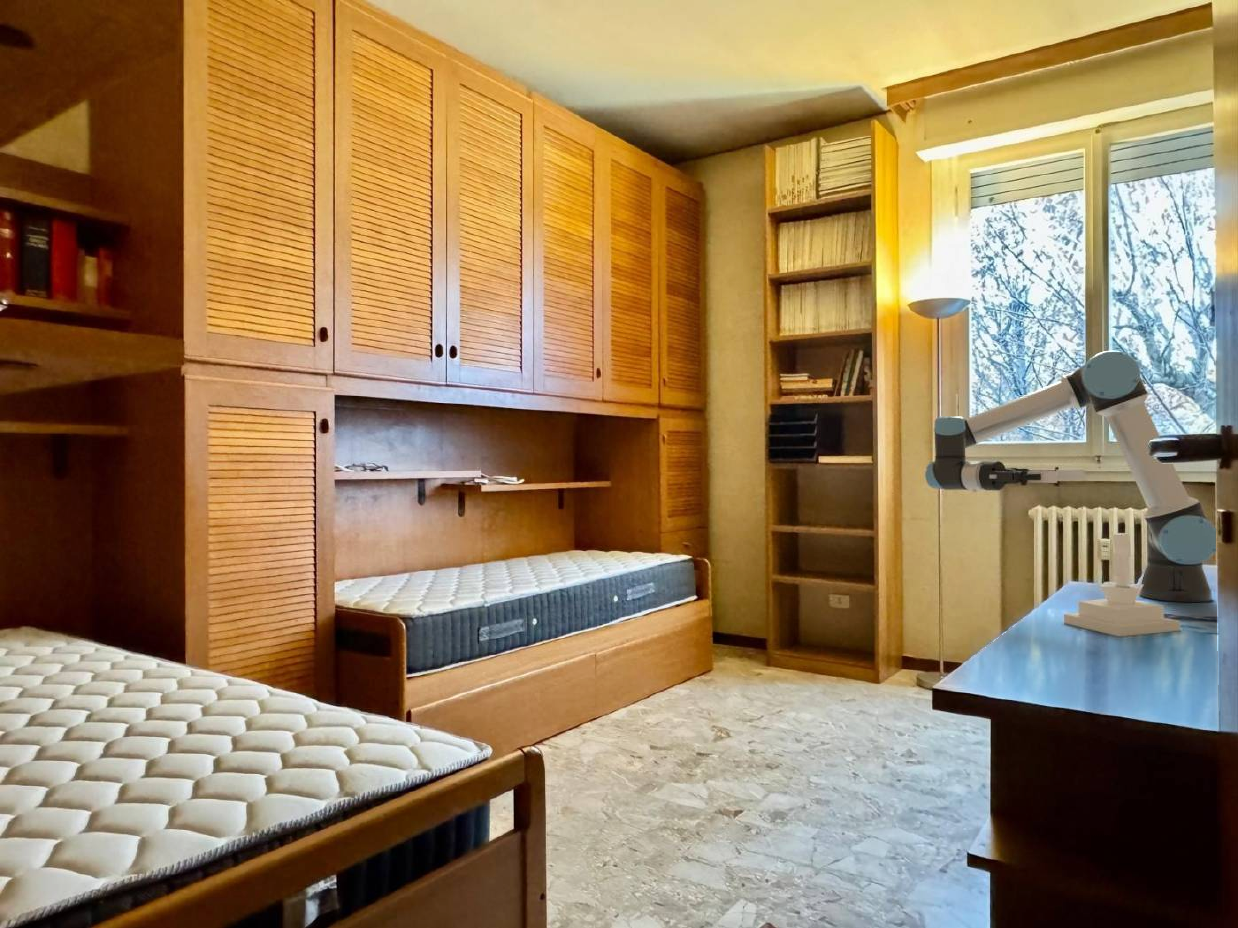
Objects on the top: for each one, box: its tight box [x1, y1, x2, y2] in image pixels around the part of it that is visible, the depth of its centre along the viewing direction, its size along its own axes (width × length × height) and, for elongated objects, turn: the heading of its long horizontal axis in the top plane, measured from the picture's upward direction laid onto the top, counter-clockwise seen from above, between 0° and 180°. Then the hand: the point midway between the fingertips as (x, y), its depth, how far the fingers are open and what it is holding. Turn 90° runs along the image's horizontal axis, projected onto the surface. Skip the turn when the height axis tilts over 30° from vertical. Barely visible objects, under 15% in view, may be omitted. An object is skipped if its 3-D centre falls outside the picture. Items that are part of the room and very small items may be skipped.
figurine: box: [1099, 532, 1143, 605], centre depth 173 cm, size 7×9×15 cm
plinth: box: [1063, 598, 1181, 637], centre depth 172 cm, size 16×14×5 cm
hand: (1071, 476), depth 189 cm, fingers open, 13 cm apart
